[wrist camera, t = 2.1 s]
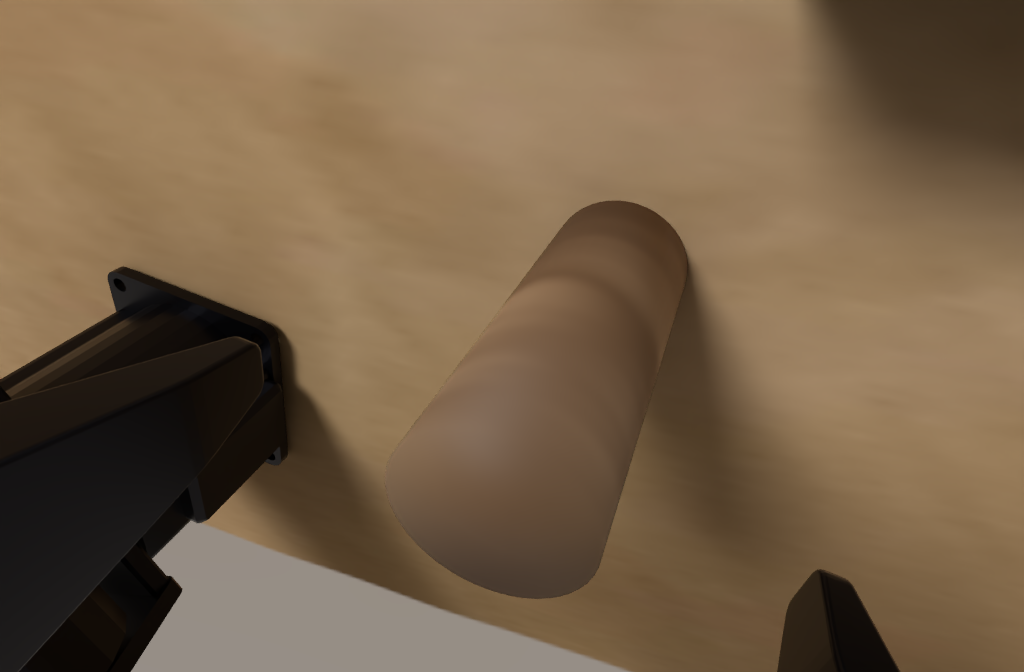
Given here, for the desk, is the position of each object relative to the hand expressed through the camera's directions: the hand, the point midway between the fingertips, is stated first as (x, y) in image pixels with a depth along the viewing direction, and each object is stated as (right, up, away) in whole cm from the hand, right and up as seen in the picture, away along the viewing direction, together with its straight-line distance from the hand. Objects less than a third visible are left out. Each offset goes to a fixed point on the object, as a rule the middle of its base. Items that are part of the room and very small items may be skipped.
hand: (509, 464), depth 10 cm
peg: (+2, +4, +5) cm, 7 cm away
